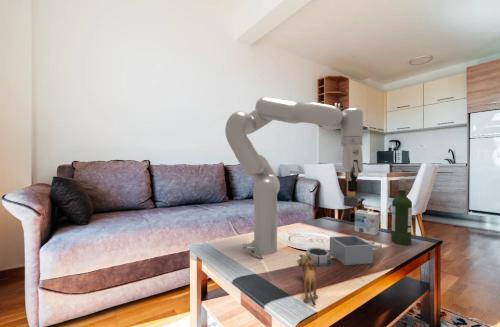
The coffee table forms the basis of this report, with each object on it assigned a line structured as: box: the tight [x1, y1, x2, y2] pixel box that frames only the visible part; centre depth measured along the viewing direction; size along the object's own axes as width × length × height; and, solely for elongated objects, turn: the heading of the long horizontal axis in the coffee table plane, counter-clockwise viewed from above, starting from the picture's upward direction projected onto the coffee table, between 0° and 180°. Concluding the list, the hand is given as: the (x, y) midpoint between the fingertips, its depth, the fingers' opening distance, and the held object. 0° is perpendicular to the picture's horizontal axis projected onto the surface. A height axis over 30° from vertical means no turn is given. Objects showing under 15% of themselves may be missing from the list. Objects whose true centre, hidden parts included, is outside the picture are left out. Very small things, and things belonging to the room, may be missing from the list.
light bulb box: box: [354, 209, 380, 236], centre depth 131 cm, size 11×7×11 cm, turn 50°
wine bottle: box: [390, 177, 413, 246], centre depth 115 cm, size 8×8×30 cm
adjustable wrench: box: [365, 240, 383, 250], centre depth 109 cm, size 25×6×2 cm, turn 95°
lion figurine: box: [296, 253, 319, 306], centre depth 72 cm, size 15×5×9 cm, turn 179°
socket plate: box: [298, 247, 340, 268], centre depth 91 cm, size 11×11×4 cm
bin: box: [329, 235, 374, 266], centre depth 93 cm, size 11×11×8 cm
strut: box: [343, 171, 359, 208], centre depth 93 cm, size 5×5×16 cm
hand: (350, 190), depth 93 cm, fingers closed on strut, 3 cm apart
